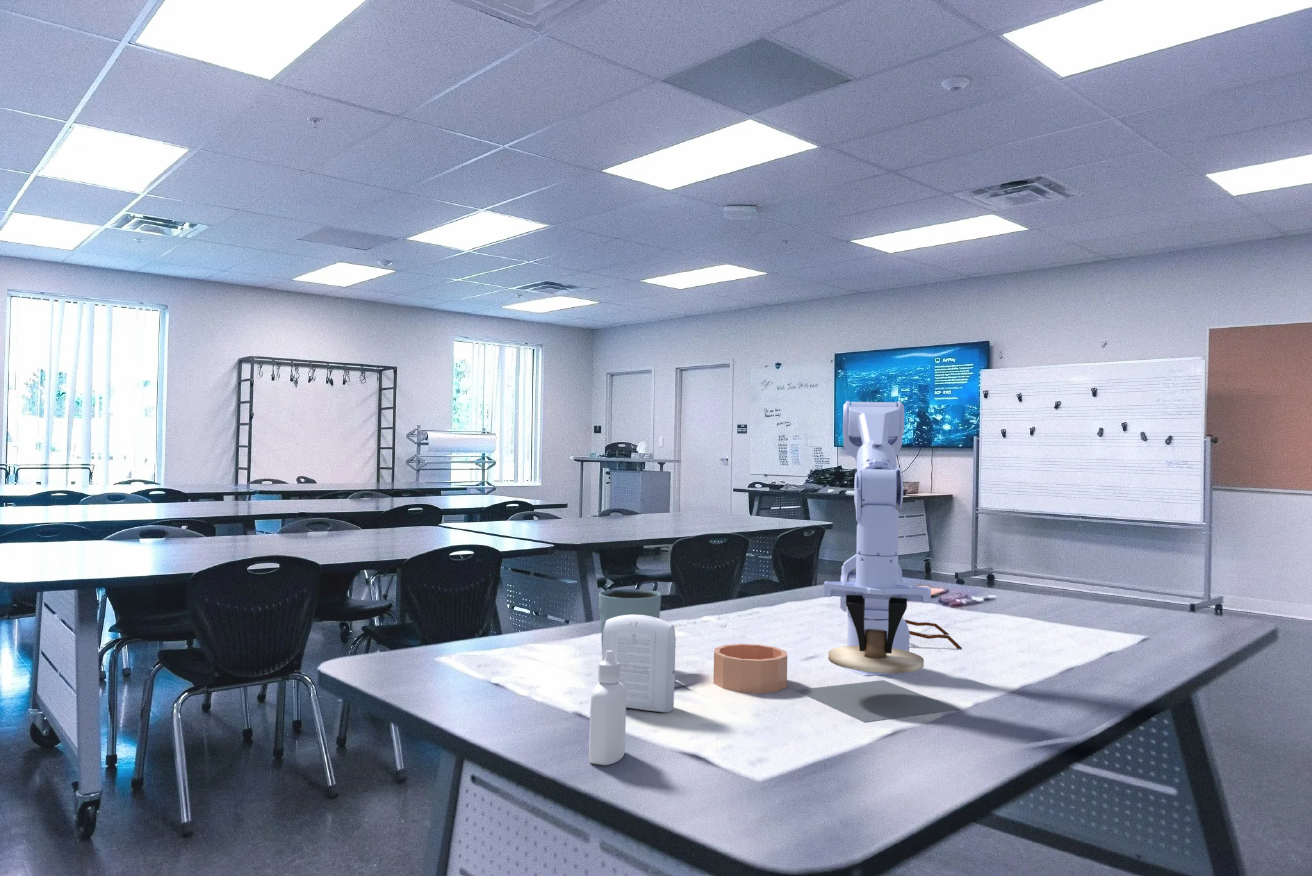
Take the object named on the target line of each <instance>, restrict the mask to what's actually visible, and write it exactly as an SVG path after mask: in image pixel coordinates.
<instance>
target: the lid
mask: <svg viewBox="0 0 1312 876" xmlns="http://www.w3.org/2000/svg"><path fill="white" fill-rule="evenodd" d="M886 646H887V631H885V630H881V629H866V630H865V651H859V646H848V645H845V646H840V647H835V648H831V649H830V650H828V653H827V654H828V656H827V658H828V661H829V662H831V664H833V665H835V666H837V665H838V666H837V667H840V666H841V667H840V668H842V667H844V668H843V669H845V668H848V669H853V670H859V671H865V672H875V673H893V674H906V673H913V672H917V671H920V670H922V669H923V668H924V666H925V660H924V657H923V656H921V655H919V654H917V653H914V652H912V651H909V652H908V651H904V650H900V649H894V648H892V653H886Z"/></svg>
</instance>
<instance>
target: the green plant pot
mask: <svg viewBox="0 0 1312 876" xmlns="http://www.w3.org/2000/svg"><path fill="white" fill-rule="evenodd" d="M661 600H662V593H661V592H660V591H657V590H656V591H655V590H650V589H640V588H639V589H638V588H636V589H635V588H621V589H619V588H618V589H617V588H615V589H608V590H603V591H600V592H598V607H599V616H600V617H599V618H600V619H599V620H600V633H601V636H600V640H601V653H602V654H601V655H602V657H603V632H604V626H605V623H606V621H607V620H608V619H610V618H614V617H617V616H622V615H646V616H651V617H655V618H659V619H660V615H661V603H662V601H661Z"/></svg>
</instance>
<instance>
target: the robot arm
mask: <svg viewBox="0 0 1312 876" xmlns="http://www.w3.org/2000/svg"><path fill="white" fill-rule="evenodd" d="M842 408H843V412H842V415H843V417H842V436H843V447H844V453H845V454H846V455H849V456H850V457H851V458H853V459H854V460H855V462H856V472H855V473H854V474H855V475H854V491H853V493H854V494H853V495H854V496H853V499H854V505H855V520H856V522H857V525H856V550H855V551H856V553H855V554H854V555H853V556H851V557H850V558H848V559H846V561H844V562H843V565H842V566H841V575H840V581H829V580H828V581H827V580H826V581H824V583H823V597H824V598H831V597H837V598H838V597H839V598H840V599H839V601H840V602H839V605H840V606H839V608H840V609H841V610H842V612H844V613H847V646H859V651H865V630H866V629H881V630H885V631H887V646H886V653H892V648H894V649H900V650H904V651H908V652H910V634H909V631H910V629H909V626H908V625H909V624H908V623H906V621H905V620H906V619H905V620H904V618H903V617H904V616H905V615H904V614H905V612H906V610H907V608H908V602H915V603H916V602H917V603H923V604H931V603H932V602H931V599H932V593H931V591H932V589H931V587H929V586H919V585H918V586H916V585H915V586H914V585H907V584H904V580H903V570H902V568H901V566H900V565H901V564H899V528H900V527H899V520H900V513H899V510H901V509H902V505H903V502H904V501H903V500H904V499H903V498H904V478H903V474H902V473H903V472H902V469H901V468H900V466H899V467H898V464H897V463H898V462H897V456H898V455H899V454H900V449H902V443H903V436H904V432H905V431H904V430H905V406H904V404H903V403H902V401H901V400H900V401H899V400H898V401H896V402H895V401H894V402H892V401H890V402H888V401H887V402H886V401H885V402H882V401H879V402H878V401H877V402H876V401H874V402H873V401H850V400H846V401H845V403H844V404H843V407H842ZM896 507H898V509H899V510H897V508H896ZM836 666H837V667H840V668H842V669H845V670H848V671H850V672H853V673H854V674H857V675H861V676H863V677H873V676H874V677H875V676H882V675H891V674H894V673H875V672H865V671H859V670H853V669H848V668H844V667H841V666H838V665H836Z"/></svg>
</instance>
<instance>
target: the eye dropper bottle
mask: <svg viewBox="0 0 1312 876" xmlns="http://www.w3.org/2000/svg"><path fill="white" fill-rule="evenodd" d="M597 672H598V673H597V674H598V676H597V678H598V679H597V680H598V682H597V684H596V685H595V686H594V688H593V689H592V691H591V695H590V704H589V705H590V706H589V737H588V738H589V740H588V741H589V744H588V760H589V763H590V764H593V765H597V766H598V765H600V766H610V765H612V764H615V763H617V762H619V761H621V760H622V758H623V757H624V755H625V753H626V725H627V723H626V722H627V721H626V719H627V717H626V715H627V708H626V688H625V686H624V685H623V684H622V683H620V682H619V681H620V663H619V662H617V661H615V660H614V656H613V651H612V650H607V651H606V656H605V659H604V660H603V661H602V660H601V661H600V662H598V671H597Z"/></svg>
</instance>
